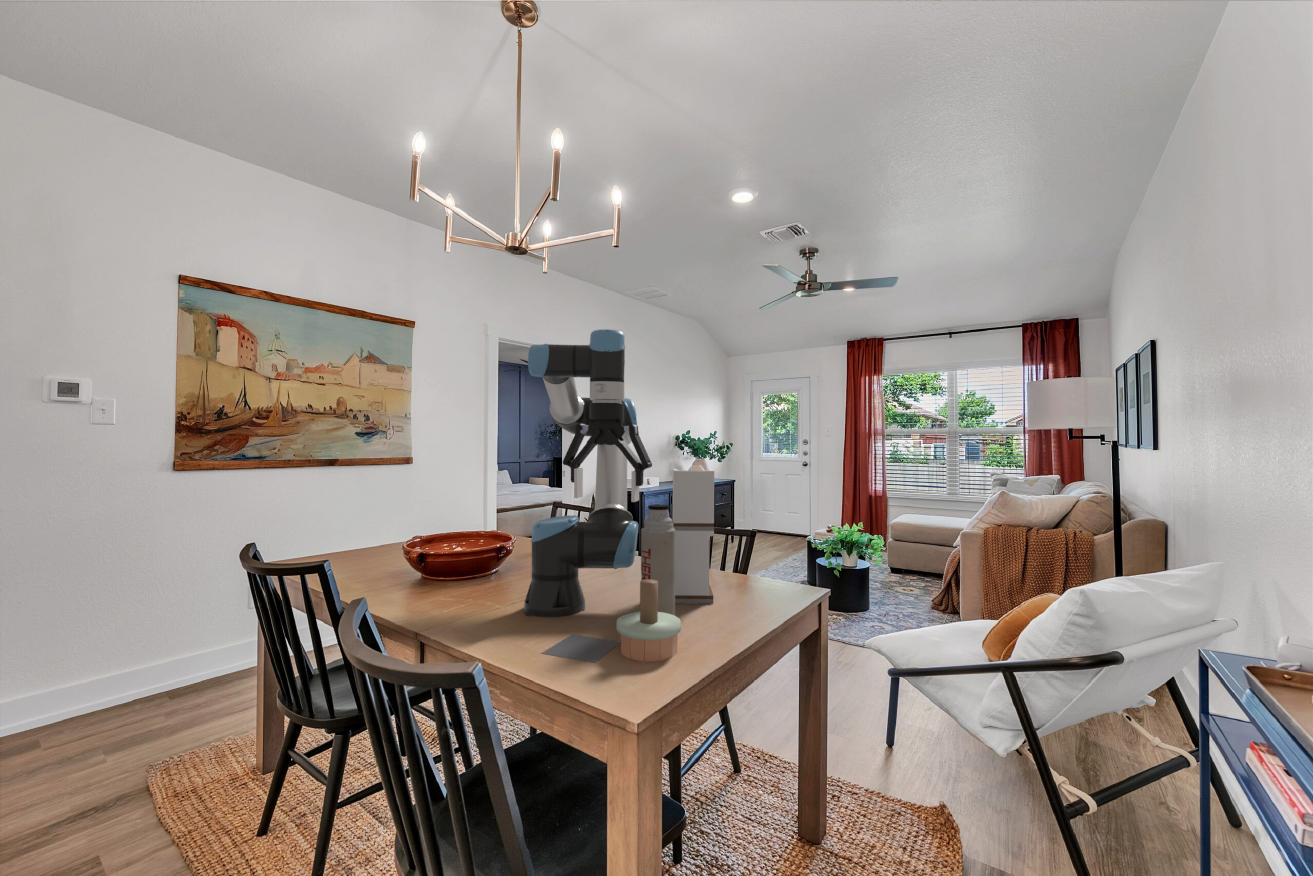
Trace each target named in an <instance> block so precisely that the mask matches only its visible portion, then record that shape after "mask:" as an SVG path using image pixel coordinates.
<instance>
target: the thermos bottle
mask: <svg viewBox="0 0 1313 876" xmlns="http://www.w3.org/2000/svg"><path fill="white" fill-rule="evenodd" d="M647 508H648V511H647V517H646V518H644V520H643V521H644V522H643V526H644V527H642V528H641V530H640V533H641V534H640V535H641V537H640V572H641V573H640V574H641V575H640V576H641V579H640V581H641V580H647V579H651V580H657V581H658V612H663V613H668V614H672V615H674V616H676V606H675V605H676V603H675V529H674V528H673V518H671V517H670V512H669V509H670V505H668V504H659V503H658V504H657V503H656V504H655V503H654V504H649V505H648V507H647Z"/></svg>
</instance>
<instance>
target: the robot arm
mask: <svg viewBox="0 0 1313 876" xmlns="http://www.w3.org/2000/svg"><path fill="white" fill-rule="evenodd" d="M625 350H626V343H625V334H624V332H623V331H620V330H617V329H608V328H607V329H596V330H593V331H591V333H590V336H589V344H554V343H553V344H551V343H549V344H548V343H544V344H532V345H530V347H529V348H528V353H527V367H528V372H529V375H530V376H531V377H538V378H542V380H543V382H544V386H545V389H546V392H547V395H548V398H549V401H550V404H549V413H550V415H551V418H552V420H553V422H555V423H556V425H558V426H559V427H560V428H562V429H563V430H565V431H566V432H568V433H570V434H573V435H574V436H573V438H572V440H571V442H570V445H569V447H568V448H567V451H566V453H565V456H564V457H563V460H562V464H563V465H564V466H567V467H569V468H570V482H571V483H573V494H574V495H573V499H580V498H582V497H584V496H583V495H584V493H583V491H584V489H583V486H584V481H583V480H584V478H583V477H584V475H583V474H584V473H583V472H584V469H583V467H581V466H582V464H583V462H584V461H585V460H586V458H587V457H588V456H589V455H590V453H591V452H592V451H593V450H594V449H595V447H597V449H596V450H597V451H596V453H597V454H596V468H595V470H596V471H595V473H596V475H595V492H594V493H595V494H594V495H595V496H594V509H593V511H591V512H590V513H589V515H588V521H580V518H579V516H578V515H573V514H572V515H561V516H554V517H549V518H544V519H541V520H538V521H536V522H535V523H534V524H533V525H532V530H531V531H532V532H531V540H530V542H531V580H530V583H529V587H528V589H527V593H526V596H525V599H524V601H523V602H524V603H523V612H524V614H525V615H527V616H528V617H532V616H533V617H540V618H561V617H569V616H573V615H576V614H579V613H581V612H584V611H585V610H586V600H585V596H584V592H583V590H582V586H581V583H580V580H579V569H614V570H617V569H624V568H625V569H627V568H630V567H632V566H633V564H634V562H635V557H636V551H637V544H638V533H639V523H638V522H637V521H636V520H635V521H634V518H633V515H632V513H631V512H630V511H628V462H629V464H631V467H632V468H633V469H634V470H632V471H631V487H630V489H631V490H630V491H631V493H630V495H631V498H630V499H631V503H636V502H638V501H640V487H642V486H643V485H644V471H645V470H647V469H649V468H652V467H653V463H652V461H651V459H650V456H649V455H648V454H649V453H648V452H647V450H646V448H645V446H644V443H643V441H642V440H641V437H640V434H639V433H640V432H639V426H638V420H637V411H636V406H635V402H634V401H633V400H632V399H630V398H627V397H626V398H625V362H626V361H625V357H626V356H625V355H626V354H625ZM575 378H589V397H581V396H579V395H578V390H577V385H576V381H575ZM585 437H589V438H588V440H587V441H586V444H585V445H584V446H583V448H581V447H580V446H581V445H582V443H583V440H584V439H585ZM631 443H632V445H633V447H634V448H633V449H634V450H635V452H636V454H637V455H636V454H635V452H634V451H633V450H632V448H631V447H630V444H631ZM580 448H581V449H580ZM579 450H580V451H579ZM578 451H579V452H578ZM577 453H578V454H577ZM637 456H638V457H637Z"/></svg>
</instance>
